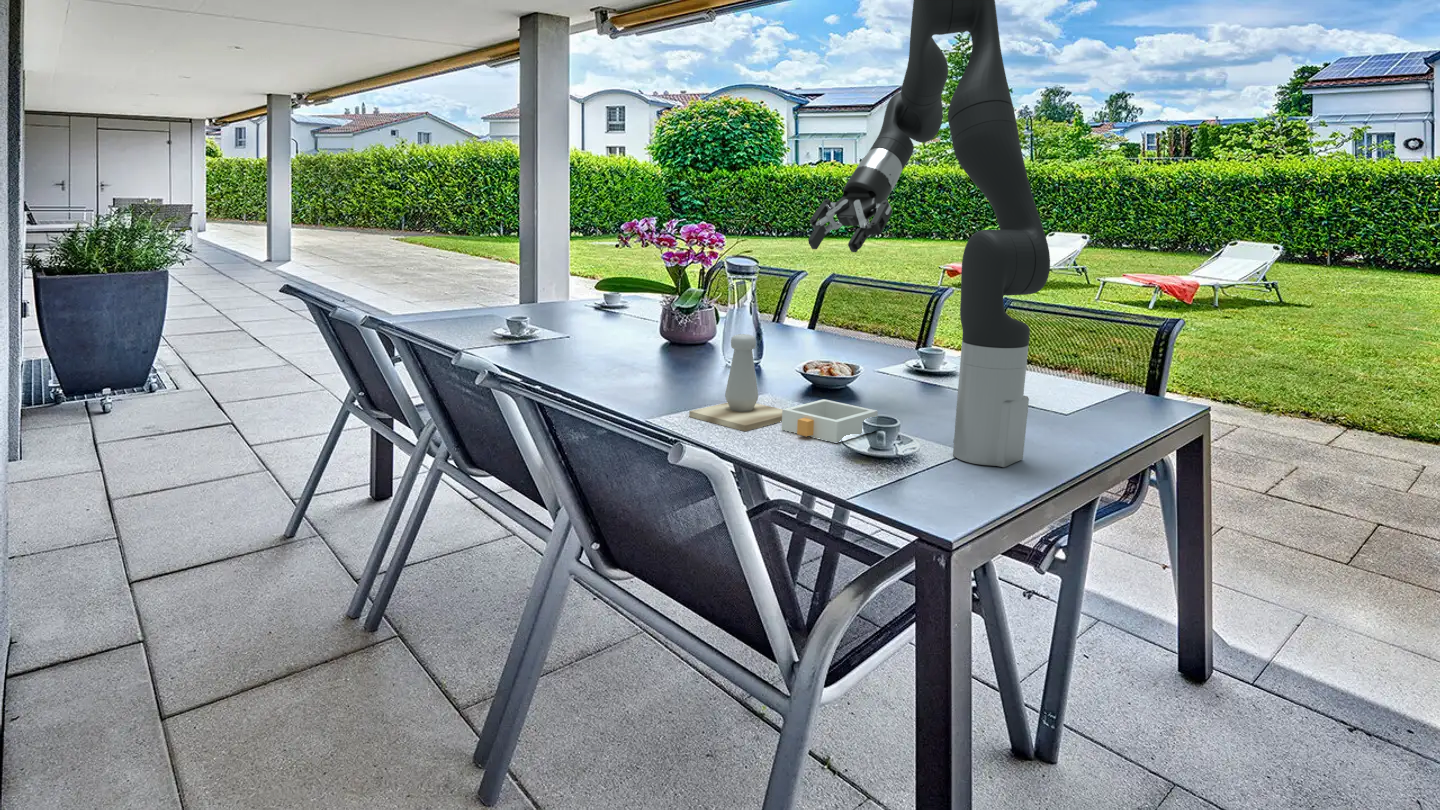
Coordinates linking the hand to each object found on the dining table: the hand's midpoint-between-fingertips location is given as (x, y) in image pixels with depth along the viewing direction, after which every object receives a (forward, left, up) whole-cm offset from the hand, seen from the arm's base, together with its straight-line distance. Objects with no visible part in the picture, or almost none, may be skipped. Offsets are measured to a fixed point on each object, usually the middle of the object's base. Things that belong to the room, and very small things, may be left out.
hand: (831, 247), depth 154 cm
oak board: (+6, +16, -29) cm, 33 cm away
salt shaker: (+7, +14, -28) cm, 32 cm away
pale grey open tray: (-10, +12, -29) cm, 32 cm away
